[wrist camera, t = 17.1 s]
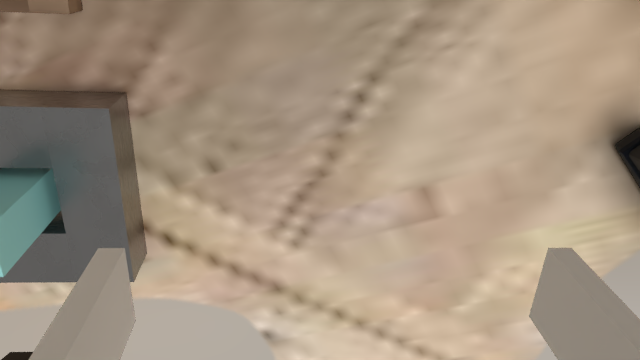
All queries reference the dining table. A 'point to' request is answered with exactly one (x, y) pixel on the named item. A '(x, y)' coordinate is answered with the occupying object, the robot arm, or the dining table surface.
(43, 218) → the peg
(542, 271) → the robot arm
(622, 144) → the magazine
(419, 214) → the dining table surface
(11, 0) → the brown flat piece
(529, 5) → the dining table surface
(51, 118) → the port
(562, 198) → the dining table surface
